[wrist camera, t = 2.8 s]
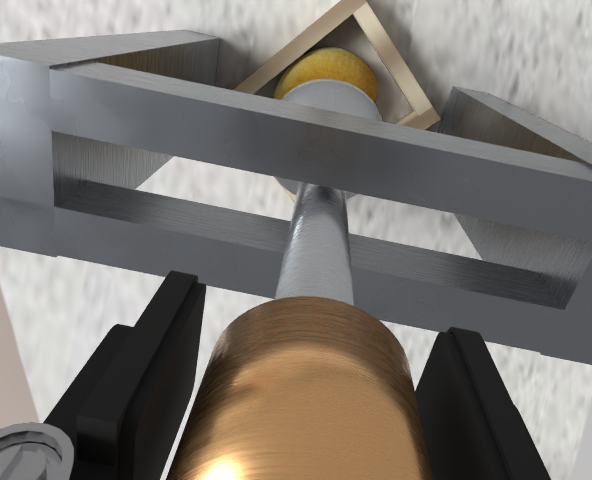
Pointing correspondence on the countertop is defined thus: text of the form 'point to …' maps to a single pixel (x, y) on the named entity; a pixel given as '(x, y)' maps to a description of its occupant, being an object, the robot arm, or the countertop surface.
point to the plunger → (308, 360)
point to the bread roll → (328, 71)
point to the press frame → (299, 167)
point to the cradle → (370, 25)
